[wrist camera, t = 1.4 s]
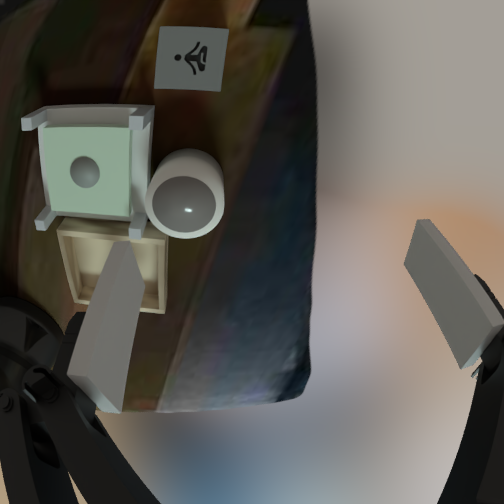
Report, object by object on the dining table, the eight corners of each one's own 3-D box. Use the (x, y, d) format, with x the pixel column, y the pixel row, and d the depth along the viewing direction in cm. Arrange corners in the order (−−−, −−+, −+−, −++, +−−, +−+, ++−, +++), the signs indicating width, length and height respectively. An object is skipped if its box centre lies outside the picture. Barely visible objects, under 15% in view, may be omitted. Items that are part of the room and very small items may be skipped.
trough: (81, 286, 38) (74, 302, 35) (66, 214, 31) (56, 229, 28) (167, 296, 40) (164, 313, 37) (168, 223, 33) (164, 240, 31)
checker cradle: (53, 207, 30) (36, 229, 26) (44, 106, 23) (21, 118, 19) (149, 215, 32) (140, 239, 29) (154, 105, 25) (143, 116, 21)
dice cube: (220, 84, 25) (220, 91, 21) (165, 81, 24) (154, 88, 20) (228, 32, 22) (228, 29, 18) (170, 29, 21) (159, 26, 17)
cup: (153, 207, 32) (144, 235, 28) (156, 145, 27) (145, 165, 24) (218, 214, 33) (218, 242, 29) (228, 152, 29) (229, 173, 25)
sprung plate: (55, 205, 28) (51, 211, 27) (47, 124, 22) (42, 128, 22) (131, 211, 29) (129, 217, 29) (132, 124, 24) (129, 128, 23)
